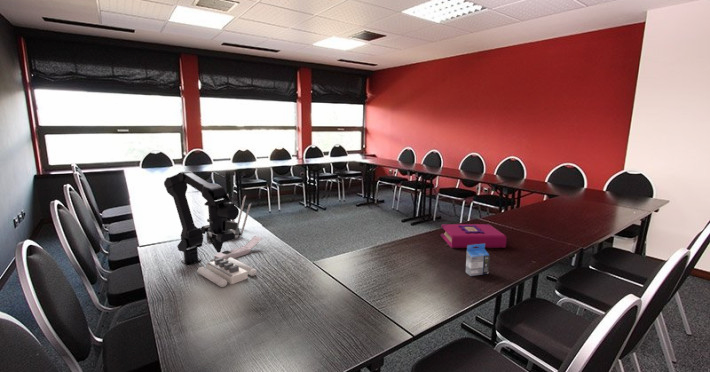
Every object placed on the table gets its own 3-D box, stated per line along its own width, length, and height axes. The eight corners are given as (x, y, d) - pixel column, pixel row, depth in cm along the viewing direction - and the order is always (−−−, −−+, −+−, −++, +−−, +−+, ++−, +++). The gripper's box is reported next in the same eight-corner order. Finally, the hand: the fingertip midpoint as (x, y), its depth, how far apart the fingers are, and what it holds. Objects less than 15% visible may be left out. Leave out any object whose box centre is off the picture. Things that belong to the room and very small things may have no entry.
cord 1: (197, 274, 139) (197, 267, 138) (204, 272, 141) (204, 265, 140) (221, 289, 126) (220, 282, 126) (228, 286, 128) (228, 279, 128)
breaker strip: (207, 269, 143) (206, 258, 142) (222, 264, 148) (222, 254, 147) (231, 284, 130) (230, 272, 129) (247, 278, 135) (247, 266, 134)
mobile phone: (263, 238, 166) (215, 252, 147) (263, 249, 167) (216, 264, 148) (255, 235, 170) (208, 249, 151) (256, 246, 171) (209, 261, 152)
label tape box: (470, 276, 138) (472, 248, 136) (464, 272, 142) (466, 244, 140) (488, 274, 140) (491, 246, 138) (482, 270, 144) (484, 243, 142)
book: (505, 249, 170) (507, 235, 169) (451, 249, 169) (452, 235, 168) (488, 235, 191) (489, 223, 190) (440, 236, 190) (440, 223, 189)
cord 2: (227, 264, 148) (226, 258, 148) (233, 262, 151) (233, 256, 150) (251, 277, 136) (251, 271, 135) (258, 275, 138) (257, 268, 138)
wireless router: (206, 228, 200) (203, 195, 197) (246, 223, 210) (244, 192, 206) (207, 246, 170) (204, 208, 167) (254, 240, 180) (252, 204, 176)
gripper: (246, 216, 138) (248, 252, 141) (223, 209, 150) (225, 242, 153) (220, 222, 130) (223, 260, 133) (198, 214, 142) (201, 248, 145)
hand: (218, 252), depth 141 cm, fingers closed
